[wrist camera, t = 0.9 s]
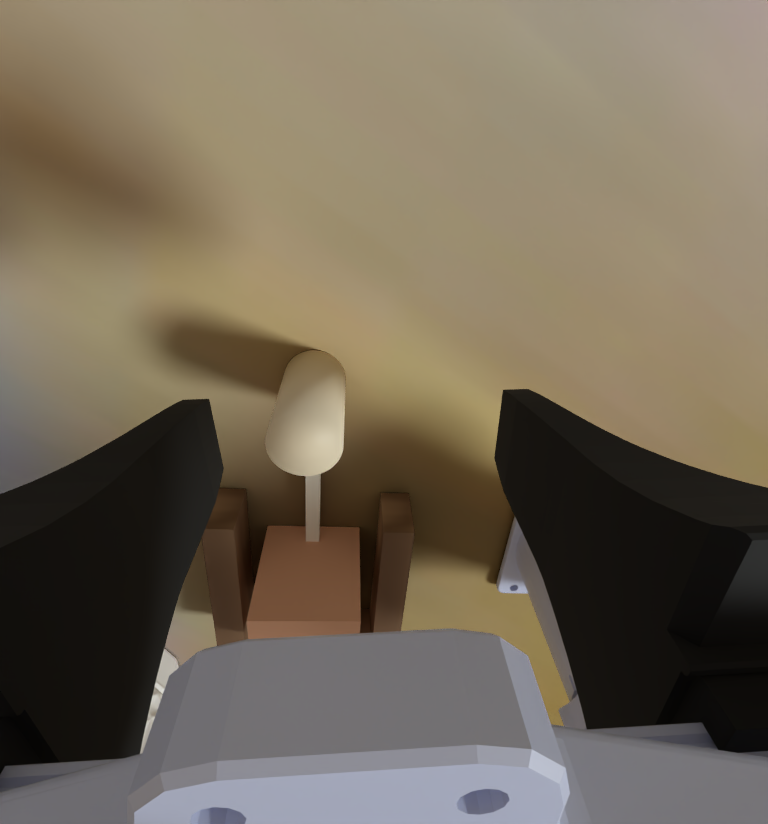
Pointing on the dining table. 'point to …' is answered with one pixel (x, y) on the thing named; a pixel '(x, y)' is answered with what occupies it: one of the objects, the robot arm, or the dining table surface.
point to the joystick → (307, 513)
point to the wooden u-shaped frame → (235, 574)
